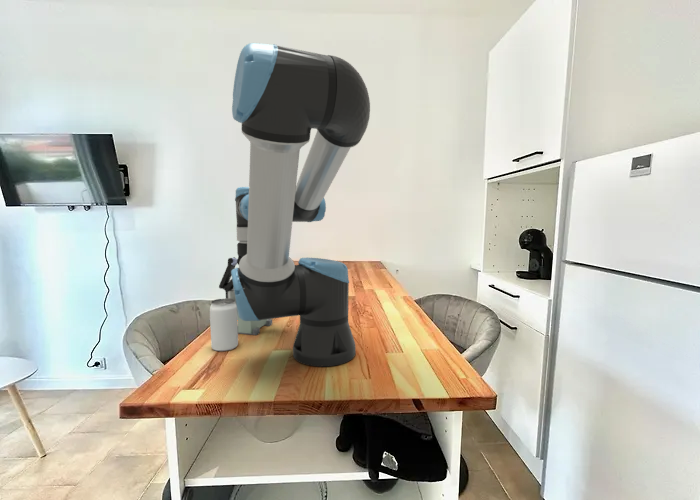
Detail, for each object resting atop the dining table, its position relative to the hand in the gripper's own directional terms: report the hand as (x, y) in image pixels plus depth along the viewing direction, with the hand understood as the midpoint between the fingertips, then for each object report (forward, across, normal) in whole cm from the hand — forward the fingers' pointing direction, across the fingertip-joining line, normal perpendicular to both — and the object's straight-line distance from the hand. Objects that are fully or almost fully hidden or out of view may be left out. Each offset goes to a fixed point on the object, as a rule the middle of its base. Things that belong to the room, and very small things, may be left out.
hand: (252, 313), depth 103 cm
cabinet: (+4, +4, -4) cm, 7 cm away
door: (+4, 0, 0) cm, 4 cm away
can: (+5, 0, +14) cm, 15 cm away
